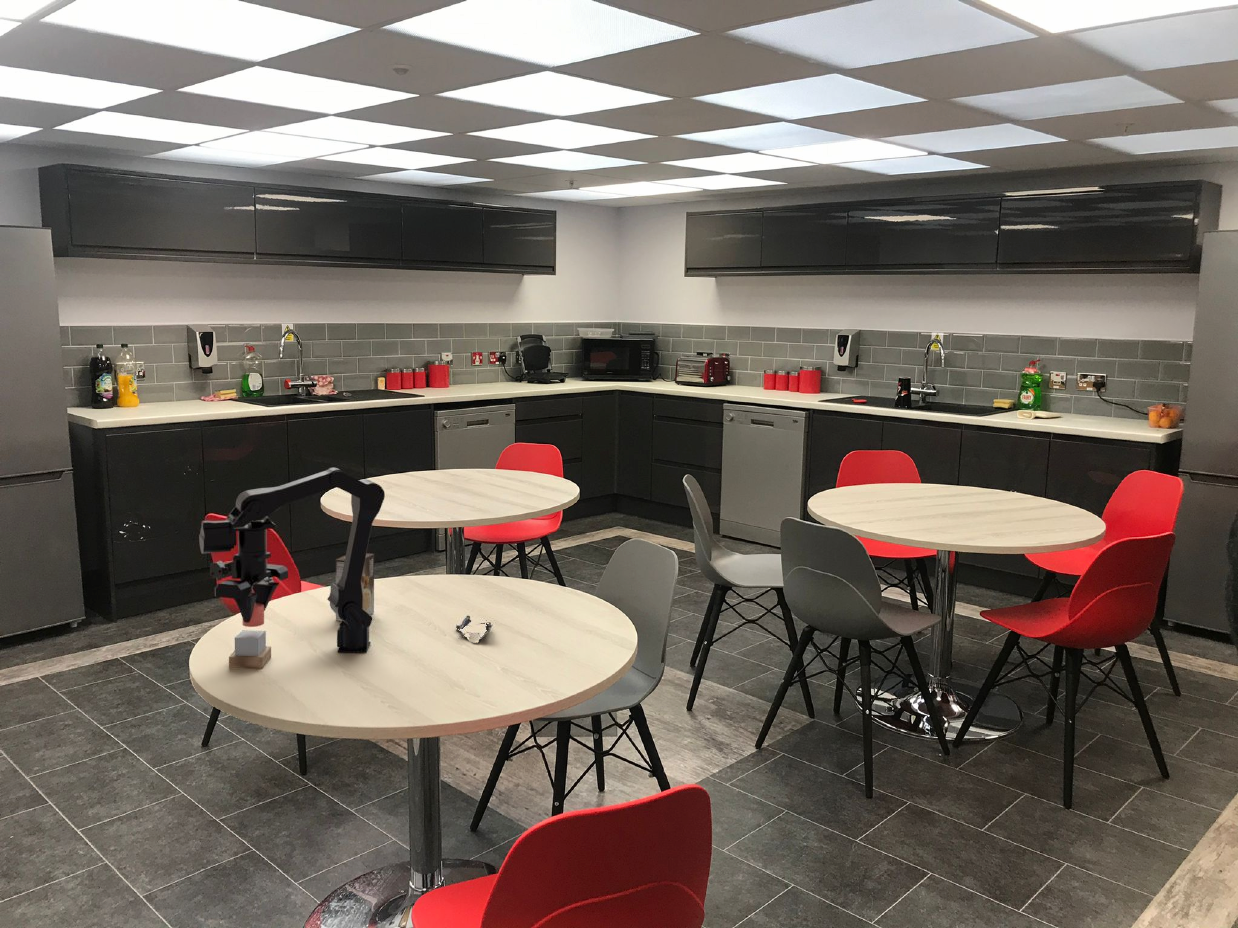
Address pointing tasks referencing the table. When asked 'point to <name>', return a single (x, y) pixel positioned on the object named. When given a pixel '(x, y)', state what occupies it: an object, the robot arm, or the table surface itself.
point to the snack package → (467, 621)
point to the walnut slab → (250, 660)
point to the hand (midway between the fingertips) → (253, 619)
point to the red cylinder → (256, 616)
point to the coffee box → (366, 582)
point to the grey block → (250, 643)
